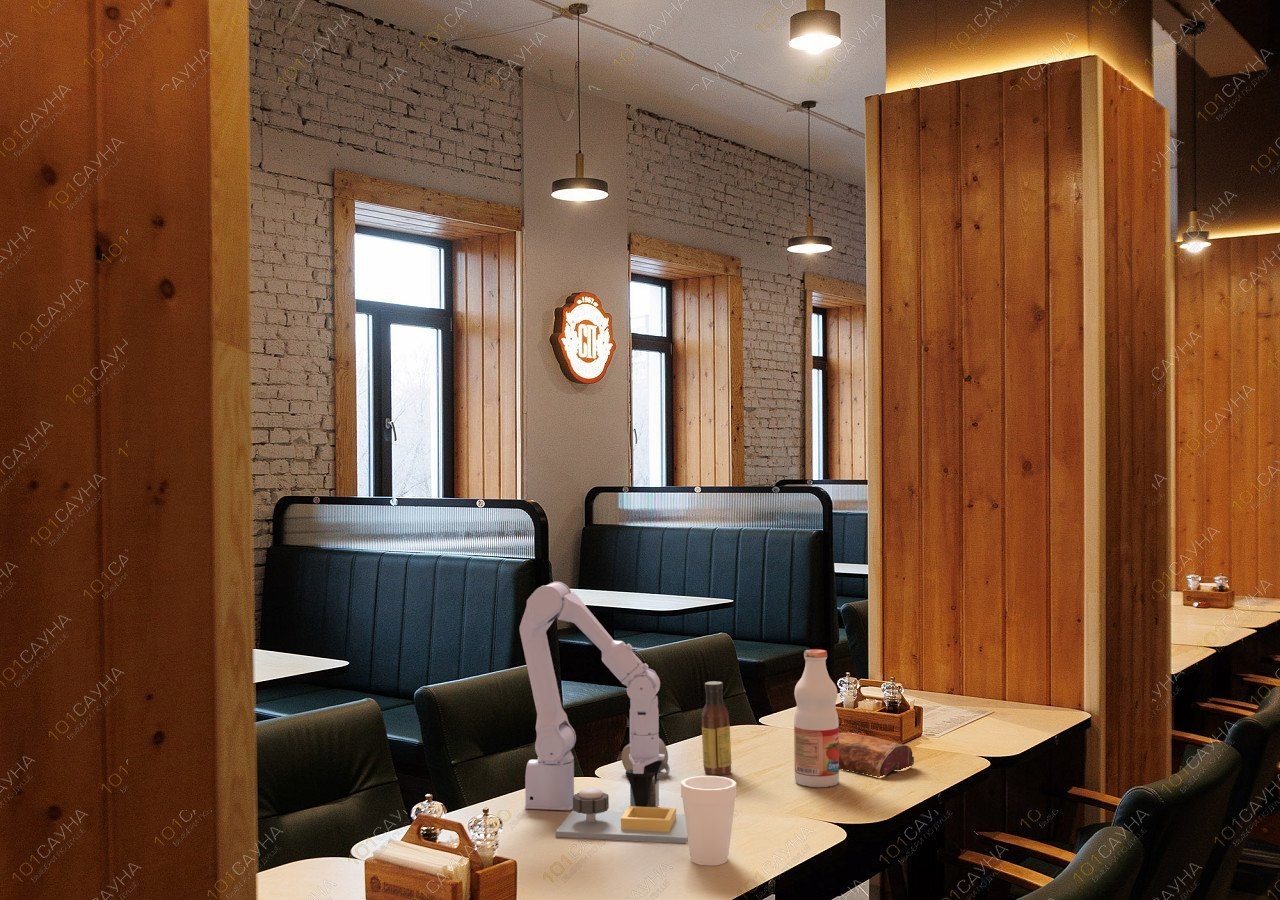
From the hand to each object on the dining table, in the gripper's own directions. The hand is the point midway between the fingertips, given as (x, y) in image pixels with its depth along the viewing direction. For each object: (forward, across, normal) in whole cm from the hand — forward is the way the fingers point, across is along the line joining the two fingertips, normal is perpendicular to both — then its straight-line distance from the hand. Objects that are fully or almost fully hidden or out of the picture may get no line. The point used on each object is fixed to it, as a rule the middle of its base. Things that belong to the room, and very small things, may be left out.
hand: (644, 801), depth 227 cm
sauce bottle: (+2, +30, -11) cm, 32 cm away
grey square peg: (+2, 0, 0) cm, 2 cm away
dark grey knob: (-2, -13, +8) cm, 15 cm away
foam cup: (+2, -28, -16) cm, 32 cm away
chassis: (+1, -13, +1) cm, 13 cm away
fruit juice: (+2, +25, -33) cm, 41 cm away
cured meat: (+2, +45, -42) cm, 61 cm away
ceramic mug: (+2, +27, +4) cm, 27 cm away
